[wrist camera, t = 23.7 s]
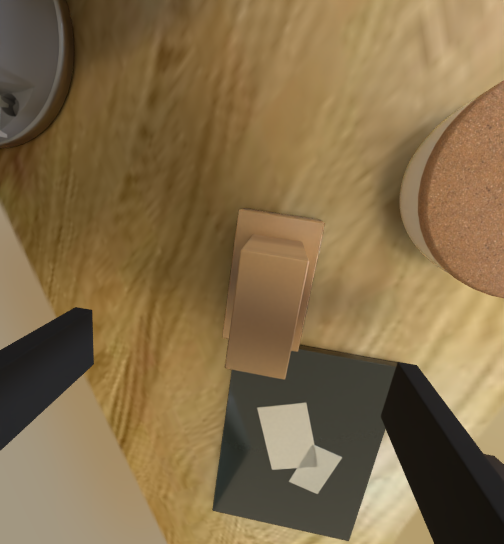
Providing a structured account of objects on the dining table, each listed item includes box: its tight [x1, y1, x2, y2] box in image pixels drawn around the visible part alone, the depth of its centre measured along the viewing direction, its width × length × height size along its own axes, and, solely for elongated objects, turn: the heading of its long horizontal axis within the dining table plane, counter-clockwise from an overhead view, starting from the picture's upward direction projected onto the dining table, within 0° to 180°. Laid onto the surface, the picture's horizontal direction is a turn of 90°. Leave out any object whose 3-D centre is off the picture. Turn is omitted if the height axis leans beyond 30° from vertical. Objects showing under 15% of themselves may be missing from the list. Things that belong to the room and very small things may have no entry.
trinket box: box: [400, 81, 504, 298], centre depth 16 cm, size 11×11×9 cm
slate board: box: [212, 345, 397, 541], centre depth 27 cm, size 20×14×1 cm
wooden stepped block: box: [222, 208, 325, 379], centre depth 20 cm, size 10×6×8 cm, turn 172°
